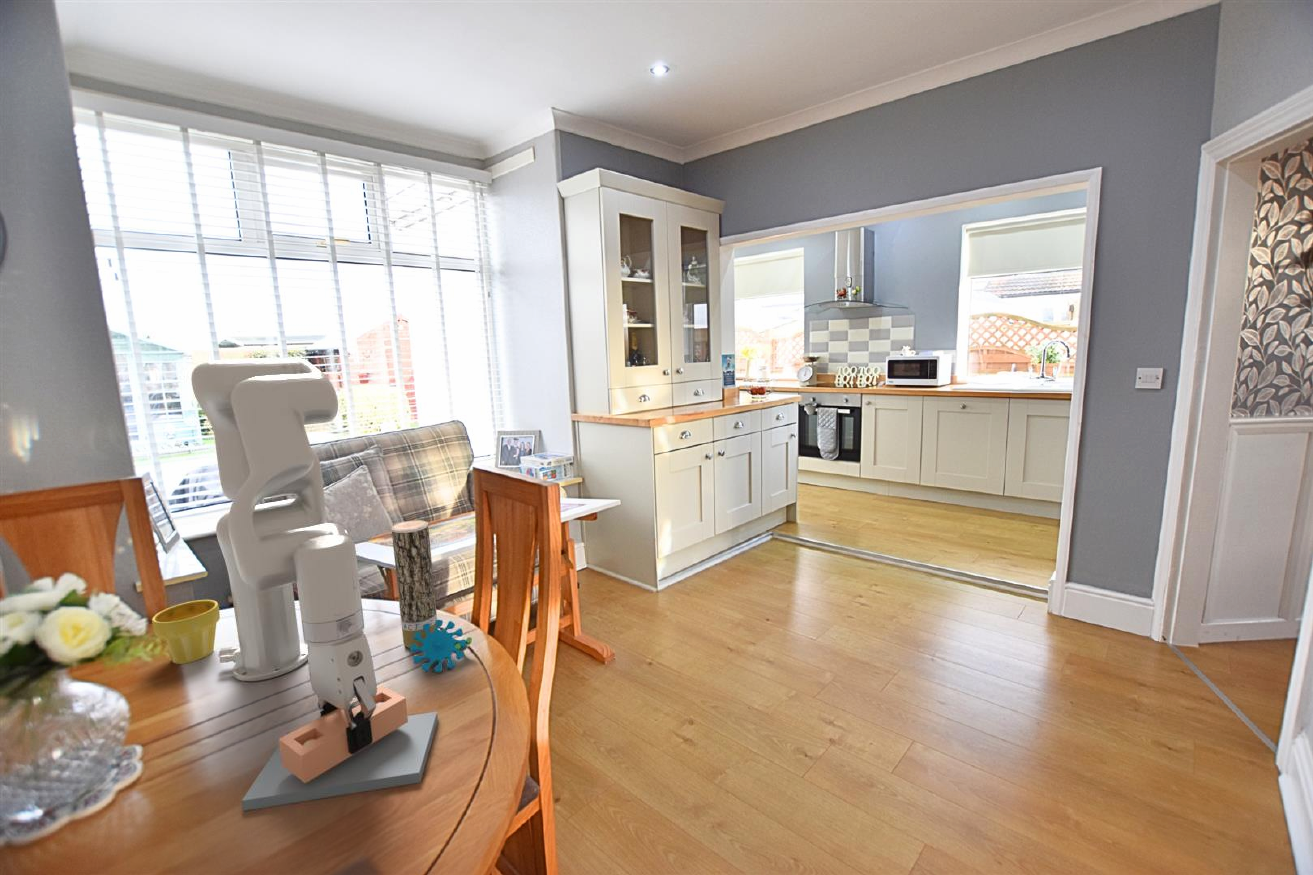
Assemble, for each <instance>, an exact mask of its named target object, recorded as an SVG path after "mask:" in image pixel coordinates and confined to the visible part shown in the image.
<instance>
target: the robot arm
mask: <svg viewBox="0 0 1313 875" xmlns="http://www.w3.org/2000/svg"><path fill="white" fill-rule="evenodd" d="M190 381H191V386H192V390H193V394H194V398H195V399H196V401H197V404H198V405H199V407H200V408H201V410H202V411H203V413H204V414H205V416H206V418H207V420H208V422H209V425H210V426H211V428H212V431H213V435H214V444H215V445H214V446H215V450H216V458H217V459H216V460H217V466H218V475H219V476H218V477H219V482H220V485H221V489H222V492H223V494H224V496H225V497H226V498H227V499H228V500H230V501H232V503H231V505H230V509H229V511H228V512H227V513H225V514H224V515H223V516H222V517H221V518H219V520H218V521H217V523H216V527H215V532H216V538H217V541H218V545H219V547H220V550H221V552H222V555H223V558H224V559H223V560H224V562H225V565H226V570H227V573H228V579H229V584H230V592H231V598H232V603H233V609H234V610H233V612H234V617H235V624H236V632H237V638H238V643H239V644H238V645H237V646H234V647H233V646H228V647H221V648H220V649H219V651H218V656H219V663H220V664H223V663H229V662H234V663H235V665H234V666H233V668H232V674H233V677H234V678H235V679H236V680H238V681H242V682H258V681H264V680H268V679H272V678H275V677H279V676H282V675H285V674H288V673H289V672H292V671H294V670H296V669H298V668H299V667H300V666H302V665H303V664H305V663H306V662H307V663H308V665H307V666H308V674H309V675H308V676H309V680H310V681H309V682H310V685H311V690H312V691H313V692H314V693H315V695H316V696H317V698H318V701H317V707H318V709H319V712H320V717H322V716H325V715H327V714H329V713H331V712H333V711H334V710H336V709H338V708H339V709H342V710H344V713H345V716H346V719H347V722H348V725H349V727H347V728H346V733H347V741H348V750H349V753H350V754H355V753H356V752H358V751H360V750H361V749H363V748H365V747H366V746H368V745H370V744H371V743H372V741H373V739H372V730H371V721H370V719H371V718H372V714H373V712H374V710H375V709H376V704H375V702H374V700H373V698H372V697H374V696H376V694H377V688H378V687H377V679H376V673H375V668H374V662H373V657H372V653H371V652H372V651H371V648H370V644H369V641H368V639H367V635H366V632H365V631H364V630H365V622H364V621H365V620H364V619H365V618H364V612H363V605H362V604H363V602H362V594H361V586H360V576H359V575H360V574H359V568H358V559H357V558H358V557H357V550H356V545H355V541H354V540H353V539H352V538H351V535H350V533H349V532H348V531H347V529H345V528H344V527H343V526H342V525H341V524H339V523H336V522H335V523H334V522H327V512H326V502H325V501H326V500H325V492H324V490H325V489H324V480H323V472H322V466H321V462H320V459H319V458H320V457H319V456H318V454H317V453H316V451H315V449H314V448H312V447H311V444H310V441H309V438H308V435H307V432H306V428H305V425H317V424H325V423H329V422H332V421H333V420H335V418H336V416H337V414H338V412H339V401H338V394H337V393H336V390H335V388H334V386H333V383H332V382H331V380H330V379H329V378H328V376H326V374H324V372H322V371H321V370H320V369H318V368H317V367H316V366H315V365H313V363H311V362H309V361H307V360H306V359H303V358H297V357H296V358H292V357H290V358H288V357H286V358H283V357H282V358H243V359H241V358H239V359H237V358H236V359H221V360H219V359H218V360H211V361H207V362H203V363H201V364H199V365H197V366H196V367H194V369H193V370H192V373H191V380H190ZM290 495H294V496H295V497H294V498H290V499H283V500H278V501H274V502H266V503H261V502H262V501H263V500H265V499H272V498H279V497H283V496H290ZM260 503H261V504H260ZM294 583H296V588H297V596H298V604H299V611H300V619H301V627H302V635H303V641H304V643H301V642H300V634H299V633H300V632H299V626H298V619H297V612H296V603H295V597H294V590H293V589H294V588H293V584H294ZM354 698H356V699H358V700H357V701H355V702H353V703H351V704H350V702H351V701H353V700H354ZM358 705H360V706H361V711H360V712H358V713H357V714H356V716H355V717H354V715H353V712H352V709H353V708H355V707H357V706H358Z"/></svg>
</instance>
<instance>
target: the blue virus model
mask: <svg viewBox="0 0 1313 875" xmlns="http://www.w3.org/2000/svg"><path fill="white" fill-rule="evenodd" d="M443 622H444V621H443V620H442V619H437V620H436V623H435V625H436V628H435V630H434V631H433V632H432V633H430V632H429V629H430V623H427V624H424V625H423V630H424V631H425V632H426V638H425V639H422V638H421V633H420V632H417V633H415V635H414V636H413V638H414V639H415V640H418V641H420V642H421V643H422V645H423V646H422V647H421V648H419V647H417V645H416V644H412V645H411V648H409V649H410V650H409V652H410V653H414V652H420V653H423V654H424V655H422V656H420V655H419V654H416V655H414V656H413V663H414V664H415V665H417V664H419V663H420V662H422V661H423V660H429V662H426V663H423V664H422V665H421V670H423V671H424V672H428V671H429V670H430V667H431V665H433V664H434V663H435V662H438V663H439V664H437V665H436V666H435V667H434V669H433V670H434V673H437V674H441V673H442V670H443V666H442V664H443V662H444V661H445V660H446V659H447V660H448V662H447V665H446V667H447V669H448V670H449V669H452V668H454V667H455V665H456V663H455V662H454V661H453V659H452V654H453V653H455V654H456V655H455V657H456V659H457V660H458V661H459V660H461V659H462V658H463V657H464V652H465V651H466V650H467V648H468V646H469V645H471V644H472V642H473V641H472V640H473V638H472V637H470V636H468V637H466V639H456V638H454V636H457V637H462V636H463V635H464V633H463V632H464V631H463V629H462V628H461V627H460V628H458V629H456V630H455V631H453V632H448V630H452V629H454V628H455V625H456V624H455V623H454V622H453V621H451V620H450V621H449V622H448V623H447V625H446V626H445V627H444V628H443V629H441V630H439V628H440V627H442V626H443V625H444V624H443ZM440 672H441V673H440Z"/></svg>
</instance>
